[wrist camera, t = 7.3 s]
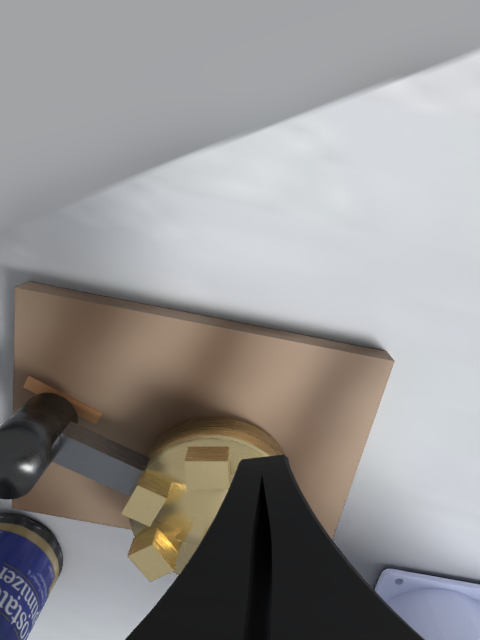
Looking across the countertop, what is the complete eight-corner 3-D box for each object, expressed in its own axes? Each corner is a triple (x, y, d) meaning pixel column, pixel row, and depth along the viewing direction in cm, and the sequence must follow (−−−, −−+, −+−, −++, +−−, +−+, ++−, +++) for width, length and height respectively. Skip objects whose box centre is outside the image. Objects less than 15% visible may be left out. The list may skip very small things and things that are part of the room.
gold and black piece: (322, 459, 20) (341, 535, 16) (247, 561, 23) (245, 653, 18) (61, 331, 19) (1, 376, 14) (8, 456, 21) (-58, 528, 17)
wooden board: (386, 351, 20) (395, 362, 19) (320, 546, 24) (324, 565, 23) (28, 281, 20) (13, 288, 18) (23, 492, 24) (10, 509, 22)
